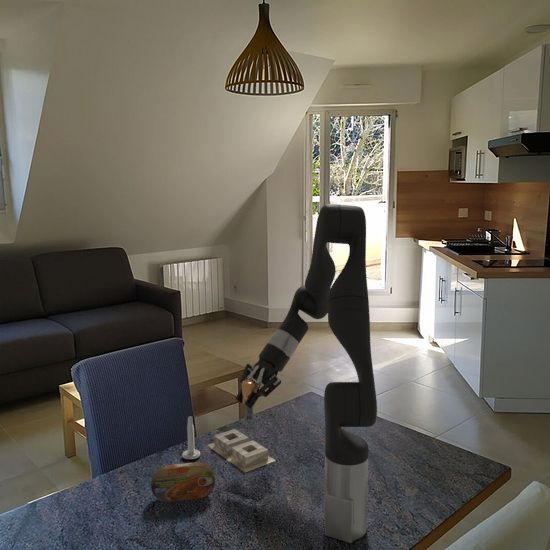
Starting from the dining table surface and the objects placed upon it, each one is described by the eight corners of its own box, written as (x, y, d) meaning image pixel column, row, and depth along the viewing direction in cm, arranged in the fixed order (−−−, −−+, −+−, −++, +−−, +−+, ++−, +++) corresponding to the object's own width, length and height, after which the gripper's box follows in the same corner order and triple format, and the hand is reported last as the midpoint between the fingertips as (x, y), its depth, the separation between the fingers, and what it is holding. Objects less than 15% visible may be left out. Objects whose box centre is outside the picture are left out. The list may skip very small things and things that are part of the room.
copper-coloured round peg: (252, 422, 146) (251, 385, 144) (240, 419, 148) (239, 383, 146) (258, 416, 149) (258, 381, 148) (247, 414, 151) (246, 379, 149)
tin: (151, 503, 132) (150, 470, 131) (152, 496, 135) (150, 464, 134) (215, 497, 135) (214, 465, 133) (214, 490, 138) (214, 458, 136)
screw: (198, 455, 155) (202, 463, 151) (180, 458, 153) (184, 466, 149) (196, 411, 153) (201, 417, 149) (179, 413, 151) (183, 420, 147)
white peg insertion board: (275, 464, 150) (275, 450, 149) (245, 476, 144) (244, 461, 143) (236, 439, 165) (236, 425, 164) (207, 449, 159) (206, 435, 158)
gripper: (255, 336, 155) (219, 388, 150) (287, 348, 144) (249, 405, 139) (271, 351, 159) (236, 402, 154) (303, 364, 148) (267, 419, 143)
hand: (243, 403), depth 147 cm, fingers closed on copper-coloured round peg, 3 cm apart
